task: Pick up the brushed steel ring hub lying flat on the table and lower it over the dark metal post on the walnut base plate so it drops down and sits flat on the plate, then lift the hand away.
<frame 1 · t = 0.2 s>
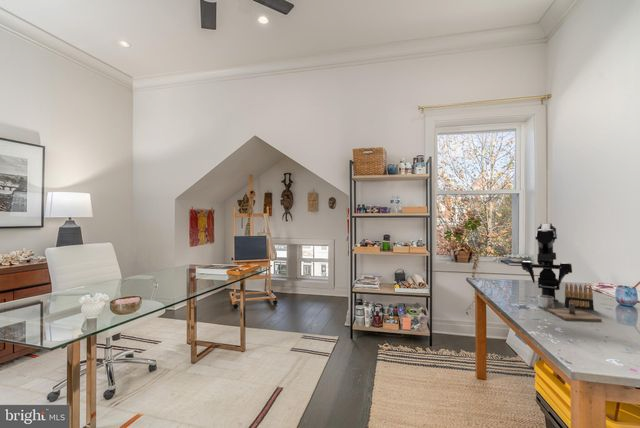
hand: (546, 283, 135), 15 cm above the table, tool tilted 30°, fingers open, 9 cm apart
ammunition clip: (578, 308, 144), on the table
post base: (572, 315, 134), on the table
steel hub: (545, 306, 147), on the table
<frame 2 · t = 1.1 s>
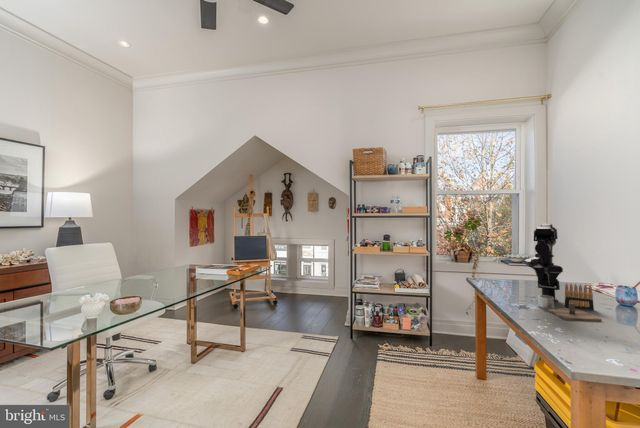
hand: (545, 283, 147), 12 cm above the table, tool pointing down, fingers open, 9 cm apart
nothing on the table moved.
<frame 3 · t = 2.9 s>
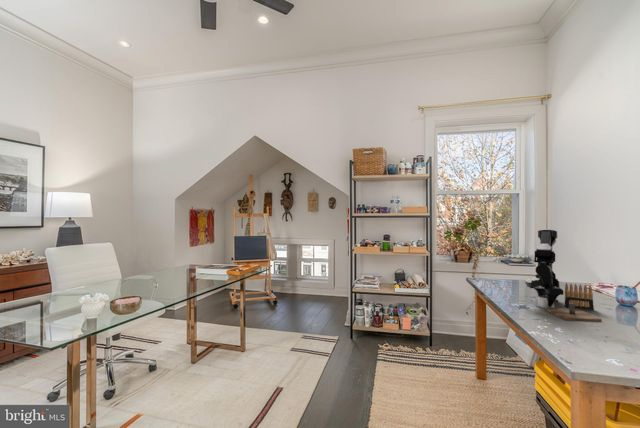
hand: (545, 304, 147), 1 cm above the table, tool pointing down, fingers closed on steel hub, 6 cm apart
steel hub: (545, 306, 147), on the table, touching gripper
everything else where it was.
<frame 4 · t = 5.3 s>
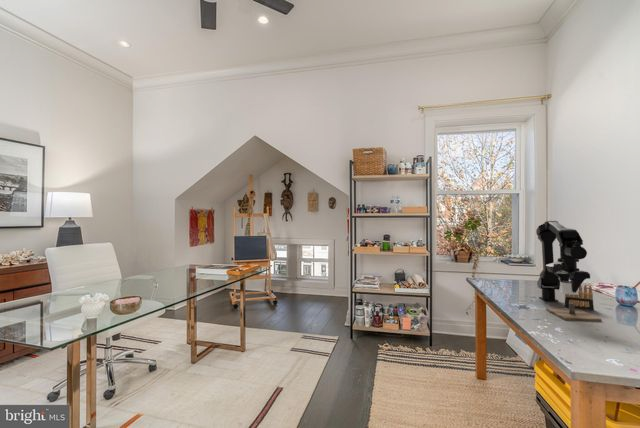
hand: (569, 290, 135), 11 cm above the table, tool pointing down, fingers closed on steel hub, 6 cm apart
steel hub: (569, 293, 135), point 10 cm above the table, touching gripper
everything else where it was.
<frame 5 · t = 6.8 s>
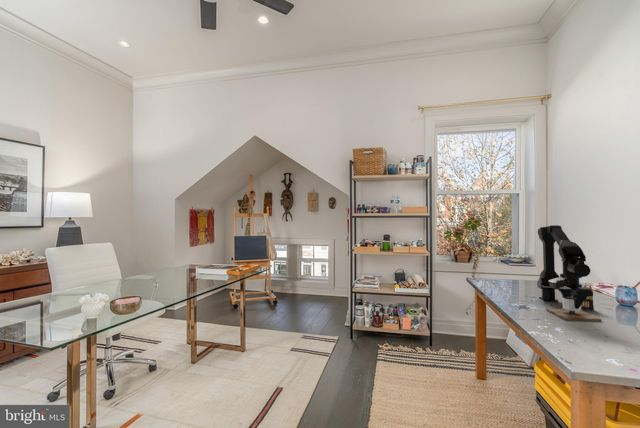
hand: (571, 306, 134), 4 cm above the table, tool pointing down, fingers closed on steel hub, 6 cm apart
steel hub: (571, 309, 134), point 3 cm above the table, touching gripper
everything else where it was.
when the fingers open (4 cm above the table, at t = 7.9 s): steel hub drops 2 cm, resting on post base.
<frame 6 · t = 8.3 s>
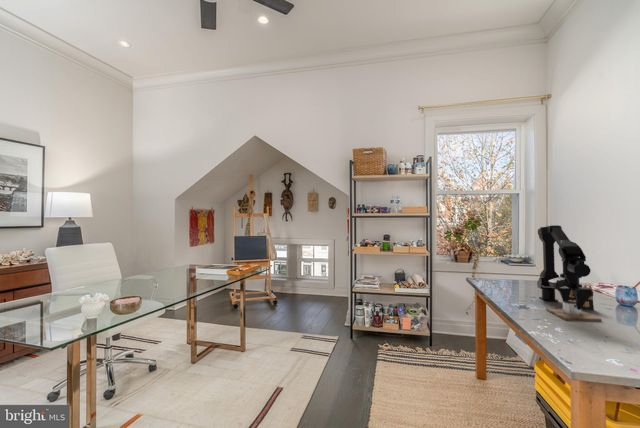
hand: (571, 306, 134), 4 cm above the table, tool pointing down, fingers open, 9 cm apart
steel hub: (572, 313, 134), point 1 cm above the table, touching post base
everything else where it was.
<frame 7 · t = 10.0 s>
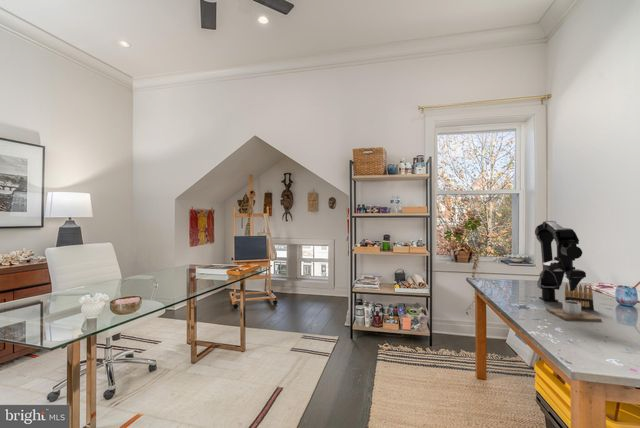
hand: (565, 288, 138), 12 cm above the table, tool pointing down, fingers open, 9 cm apart
nothing on the table moved.
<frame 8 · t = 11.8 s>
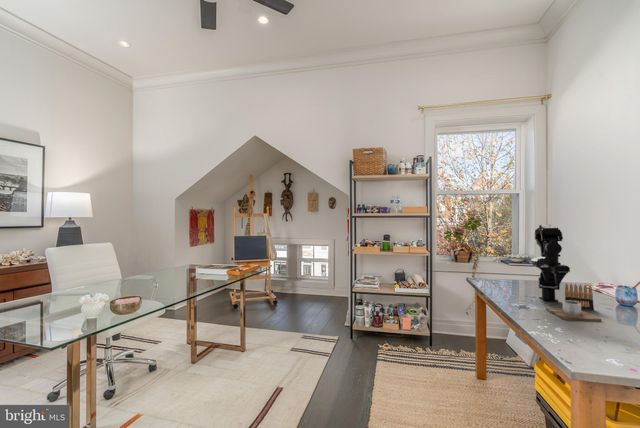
hand: (551, 282, 147), 12 cm above the table, tool pointing down, fingers open, 9 cm apart
nothing on the table moved.
at the end: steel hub 0.1 cm off-centre on the post base, point 1.0 cm above the post base's base; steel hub tilted 0°; the gripper is holding nothing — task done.
